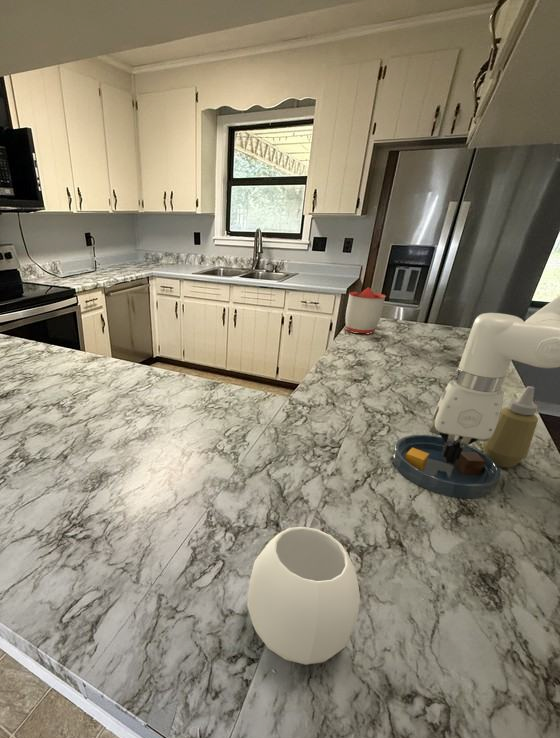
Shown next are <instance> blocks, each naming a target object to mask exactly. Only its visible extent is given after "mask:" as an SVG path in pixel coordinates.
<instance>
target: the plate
mask: <svg viewBox="0 0 560 738" xmlns="http://www.w3.org/2000/svg"><path fill="white" fill-rule="evenodd" d="M454 441H456V439H454ZM444 444H445V441H444V440H443V438H442V437H441V436H440V435H430V434H412V435H408V436H404V437H402V438H401V439H400V438H399V440H397V442H396V444H395V445H394V449H393V453H392V457H391V459H392V465H393V466H394V468H395V469H396V470H397V472H399V473H400V474H401V475H402V476H403V477H404V478H406V479H407V480H408V481H410V482H411V483H414V485H415V484H416V485H417V486H419V487H421V488H424V489H426V490H428V491H431V492H433V493H436V494H440V495H443V496H448V497H452V498H460V499H481V498H484V497H487V496H490V495H491V494H492V493H493V492H494V491H495V490H496V488H497V485H498V483H499V481H500V479H501V469H500V466H498V465H497V464H496V463H495V462H494V461H493V460H492V459H491V458H490V457H489V456H487V455H486V454H484V453H483V452H482V451H481V450H479V449H478V448H475V447H473V446H471V445H470V444H469V445H467V447H466V448H463V449H462V452H476V453H477V454H478V455H479V456H480V457H481V458H482V459H483V460H484V461H485V463H484V466H483V468H482V471H481V473H480V475H466V474H462V473H461V472H460V471H459V470H458V469H457V468H456V466H455V465H454V464H451V463H446V462H445V460H444V457H443V456H442V455H441V453H442V450H443V447H444ZM411 448H415V449H418V450H421V451H424V452H426V453H429V457H428V460H427V463H426V465H425V468H424V469H423V470H422V471H421V470H419V469H417V468H415V467H414V466H412V465H411V464H410V463H408V462H407V461H406V460H405V457H406V454H407V453H408V451H409V450H410V449H411ZM455 462H456V461H455Z"/></svg>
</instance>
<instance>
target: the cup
mask: <svg viewBox="0 0 560 738" xmlns="http://www.w3.org/2000/svg"><path fill="white" fill-rule="evenodd" d="M360 605H361V593H360V586H359V580H358V576H357V572H356V568H355V566H354V564H353V561H352V560H351V557H350V555H349V553H348V552H347V550H346V549H345V547H344V546H343V544H342V543H341V542H340V541H339V540H337V539H336V538H335V537H334V536H333V535H331V534H329V533H327V532H325V531H323V530H320V529H318V528H314V527H307V526H298V527H297V526H295V527H289V528H287V529H285V530H283V531H280V532H279V533H277V534H276V535H275V536H274V537H272V538H271V540H269V542H268V543H267V544H266V546H265V547H264V548H263V550H261V552H260V553H259V555H257V557H256V559H254V562H253V567H252V570H251V574H250V579H249V585H248V592H247V610H248V613H249V616H250V621H251V623H252V626H253V628H254V630H255V633H256V634H257V636H258V637H259V638H260V640H261V641H262V642H263V643H264V645H265V646H266V648H267V649H268V650H270V651H272V652H273V653H275V654H276V655H277V656H278V657H281V658H282V659H284V660H285V661H288V662H293V663H298V664H301V665H307V666H308V665H312V664H313V665H314V664H320V663H325V662H326V661H327V660H329V659H331V658H332V657H334V656H335V655H337V654H338V653H339V652H341V650H343V649H344V648H346V647H347V645H348V642H349V640H350V638H351V636H352V633H353V631H354V628H355V625H356V623H357V620H358V617H359V611H360Z"/></svg>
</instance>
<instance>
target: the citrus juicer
mask: <svg viewBox="0 0 560 738" xmlns="http://www.w3.org/2000/svg"><path fill="white" fill-rule="evenodd" d="M386 297H387V296H386V295H385V294H383V293H379V292H373V290H372V289H371V287H367V288H365V289H364V290H363V291H361V292H360V294H359V293H358V292H357V291H351V292H349V293H348V300H347V304H346V305H347V306H346V309H345V310H346V311H345V329H346V328H347V329H346V331H347V330H349V331H353V332H358V333H370V332H373V331H376V328H377V326H378V324H379V322H380V320H381V316H382V312H383V308H384V304H385V298H386ZM349 331H348V332H349ZM373 333H374V332H373Z"/></svg>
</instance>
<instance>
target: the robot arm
mask: <svg viewBox="0 0 560 738" xmlns="http://www.w3.org/2000/svg"><path fill="white" fill-rule="evenodd" d="M512 361H515V362H519V363H522V364H525V365H529V366H532V367H536V368H541V369H556V368H560V295H558V296H557V297H555V298H554V299H553V300H551V301H550V302H548V303H547V304H546V305H544V306H543V307H541V308H540V309H539V310H537V311H536V312H535V313H533V314H532V315H530V316H529V317H528V318H527V319H526V320H525V321H524V319H522V318H520V317H519V316H516V315H513V314H507V313H500V312H485V313H480V314H479V315H478V316H476V318H475V319H474V321H473V324H472V326H471V329H470V332H469V335H468V339H467V341H466V344H465V347H464V350H463V353H462V355H461V359H460V362H459V365H458V366H457V367H456V369H454V370H448V371H447V378H451V379H453V380H450V381H449V382H448V384H447V385H446V387H445V389H444V391H443V393H442V394H441V397H440V398H439V401H438V402H437V405H436V407H435V410H434V413H433V415H432V422H431V424H430V425H429V427H428V430H429V432H430V433H431V434H434V435H435V436H439V437H442V438H443V440H444V441H445V444H444V447H443V450H442V453H441V455H442V456H443V457H444V460H445V462H446V463H451V464H455V461H456V459H459V457H460V455H461V452H462V449H463V448H466V447H467V445H469V446H470V445H471V444H473V443H475V442H483V441H488V440H489V438H491V437H492V435H493V434H494V431H495V429H496V426H497V422H498V419H499V416H500V412H501V409H502V407H503V402H504V395H505V392H504V391H503V389H502V388H501V387H502V386H503V382H504V379H505V378H506V375H507V372H508V371H509V367H510V365H511V362H512ZM456 437H457V438H456ZM455 438H456V439H455ZM454 440H455V441H454Z"/></svg>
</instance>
